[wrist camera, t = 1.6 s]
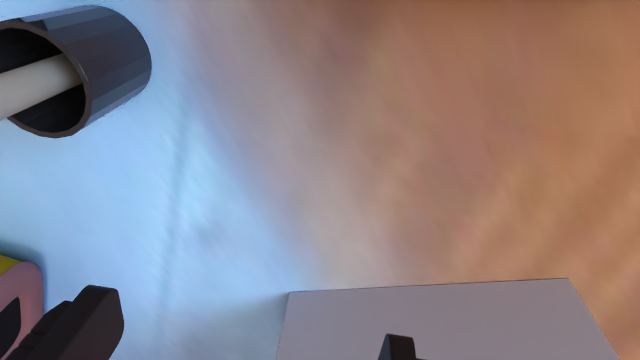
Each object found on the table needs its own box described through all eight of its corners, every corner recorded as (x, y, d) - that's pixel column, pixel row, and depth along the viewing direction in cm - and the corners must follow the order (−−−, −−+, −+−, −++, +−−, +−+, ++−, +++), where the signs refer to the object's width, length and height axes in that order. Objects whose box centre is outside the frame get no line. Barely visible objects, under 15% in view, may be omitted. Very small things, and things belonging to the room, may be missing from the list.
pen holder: (42, 36, 38) (-52, 60, 29) (105, -15, 35) (22, -5, 27) (107, 113, 42) (41, 155, 33) (170, 73, 39) (115, 106, 30)
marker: (81, 50, 38) (-133, 122, 21) (102, 34, 37) (-105, 97, 20) (103, 77, 39) (-84, 166, 23) (124, 62, 38) (-55, 143, 22)
